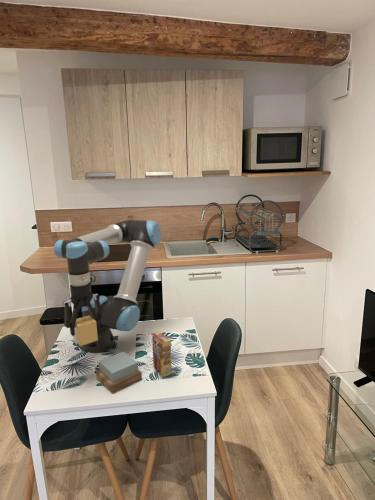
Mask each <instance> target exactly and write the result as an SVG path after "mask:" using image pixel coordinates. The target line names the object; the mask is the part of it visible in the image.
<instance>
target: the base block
mask: <svg viewBox="0 0 375 500" xmlns="http://www.w3.org/2000/svg"><path fill="white" fill-rule="evenodd" d="M95 374H96V375H95V376H96V380H98V381H99V382H100V383H101V384H102V385H103V386H104V387H105V388H106V389H107V390H108V391H109V393H111V394H115V393H117V391H118V392H119V391H121V390H123V389H125V387H126V388H128V387H129V386H132V385H134V384H136V383H139V382H140V381H143V378H142V377H143V376H142V375H143V373H142V371H141V370H140V369H138V372H136V373H134V374H132V375H129V376H127V377H125V378H123V379H120V380H118V381H116V382H114V383H113V382H112V381H111V380H110V379H108V378H107V377H106V376H105V375H104V374H103V373H102V372H101V371H100V368H99V369H97V370H95Z"/></svg>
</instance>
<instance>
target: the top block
mask: <svg viewBox="0 0 375 500" xmlns="http://www.w3.org/2000/svg"><path fill="white" fill-rule="evenodd" d="M98 365H99V369H100V371H101V372H102V373H103V374H104V375H105V376H106V377H107V378H108V379H110V380H111V381H112V382H113V383H114V382H116V381H118V380H120V379H123V378H125V377H127V376H129V375H132V374H134V373H136V372H138V370H139V364H138V361H136V360H135V359H134V358H132V356H130V355H128V354H127V352H124V351H122V352H119V353H116V354H113V355H112V356H109V357H106V358H104V359H101V360H99V361H98Z"/></svg>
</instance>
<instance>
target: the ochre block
mask: <svg viewBox="0 0 375 500" xmlns="http://www.w3.org/2000/svg"><path fill="white" fill-rule="evenodd" d="M75 327H76V328H77V337H78V345H79V346H80V347H82V345H85V344H88V343H91V342H94V341H97V340H98V336H97V325H96V321H95V320H94V319H93V318H92V317H90V316H85V317H83V316H82V317H77V319H76V323H75Z"/></svg>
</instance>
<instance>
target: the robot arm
mask: <svg viewBox="0 0 375 500" xmlns="http://www.w3.org/2000/svg"><path fill="white" fill-rule="evenodd" d="M161 241H162V230H161V226H160V224H159V223H158V222H157V221H154V220H149V219H148V220H141V219H138V220H137V219H126V220H122V221H118V222H115V223H111V224H110V225H108V226H107V227H106V228H102V229H100V230H96V231H93V232H91V233H88V234H84V235H81V236H78V237H74V238H70V239H58V240H57V241H56V242H55V243H54V246H53V253H54V254H55V256H56V257H57V258H60V259H65V260H66V263H67V269H68V279H69V280H68V281H69V282H68V283H69V290H70V297H69V298H70V299H68V300H63V302H62V305H63V307H64V308H63V309H64V314H63V315H64V317H63V322H64V323H63V324H64V325H63V326H64V327H65V328H67V329H69V332H70V335H71V336H72V337H73V343H75V344H76V345H77V344H78V337H77V328H76V327H75V323H76V319H78V315H79V312H80V310H81V314H82V317H85V316H90V317H92V318H93V319H94V320H95V321H96V325H97V336H98V340H97V341H94V342H91V343H88V344H85V345H82V346H81V349H82V350H83V351H85V352H87V353H101V352H105V351H107V350H110V349H111V348H113V347H114V345H115V342H116V341H115V336H114V334H113V331H112V330H117V331H119V332H130V331H132V330H133V329H134V328H135V327H136V326H137V324H138V323H139V321H140V316H141V315H140V314H141V311H140V308H139V307H138V305H139V303H138V302H137V296H138V292H139V289H140V286H141V282H142V278H143V275H144V271H145V268H146V264H147V262H148V258H149V254H150V252H151V253H152V252H153V251H154V249H155V246H159V244H160V243H161ZM119 243H127V244H129V245H130V247H131V249H130V252H129V256H128V259H127V262H126V265H125V269H124V271H123V275H122V279H121V282H120V284H119V288H118V290H117V294H116V295H114V296H113V297H112V299H111V301H109V299H108V297H107V296H105V295H100V294H98V293H92V284H91V273H90V265H92V264H95V263H96V262H99V261H101V260H104V259H105V258H107V257H108V256H109V255H110V246H109V245H111V244H119ZM71 304H73V308H72V312H71V309H70V308H71ZM78 345H79V344H78Z"/></svg>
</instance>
